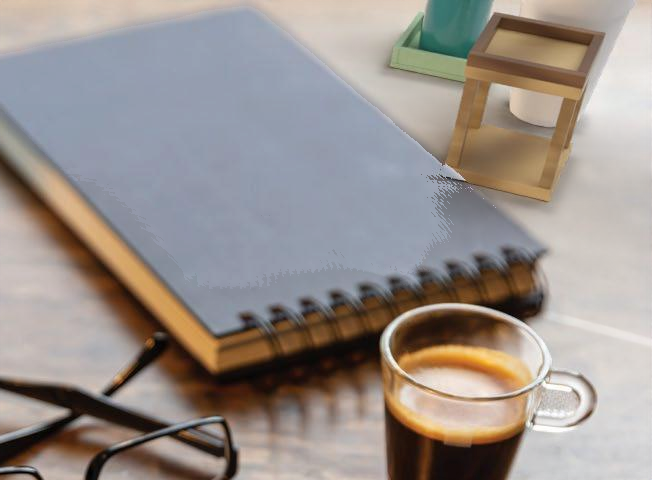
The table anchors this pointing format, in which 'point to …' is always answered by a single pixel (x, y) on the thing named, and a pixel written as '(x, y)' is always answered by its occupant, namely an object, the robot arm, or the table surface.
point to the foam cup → (577, 11)
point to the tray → (424, 56)
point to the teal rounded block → (453, 26)
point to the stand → (531, 74)
